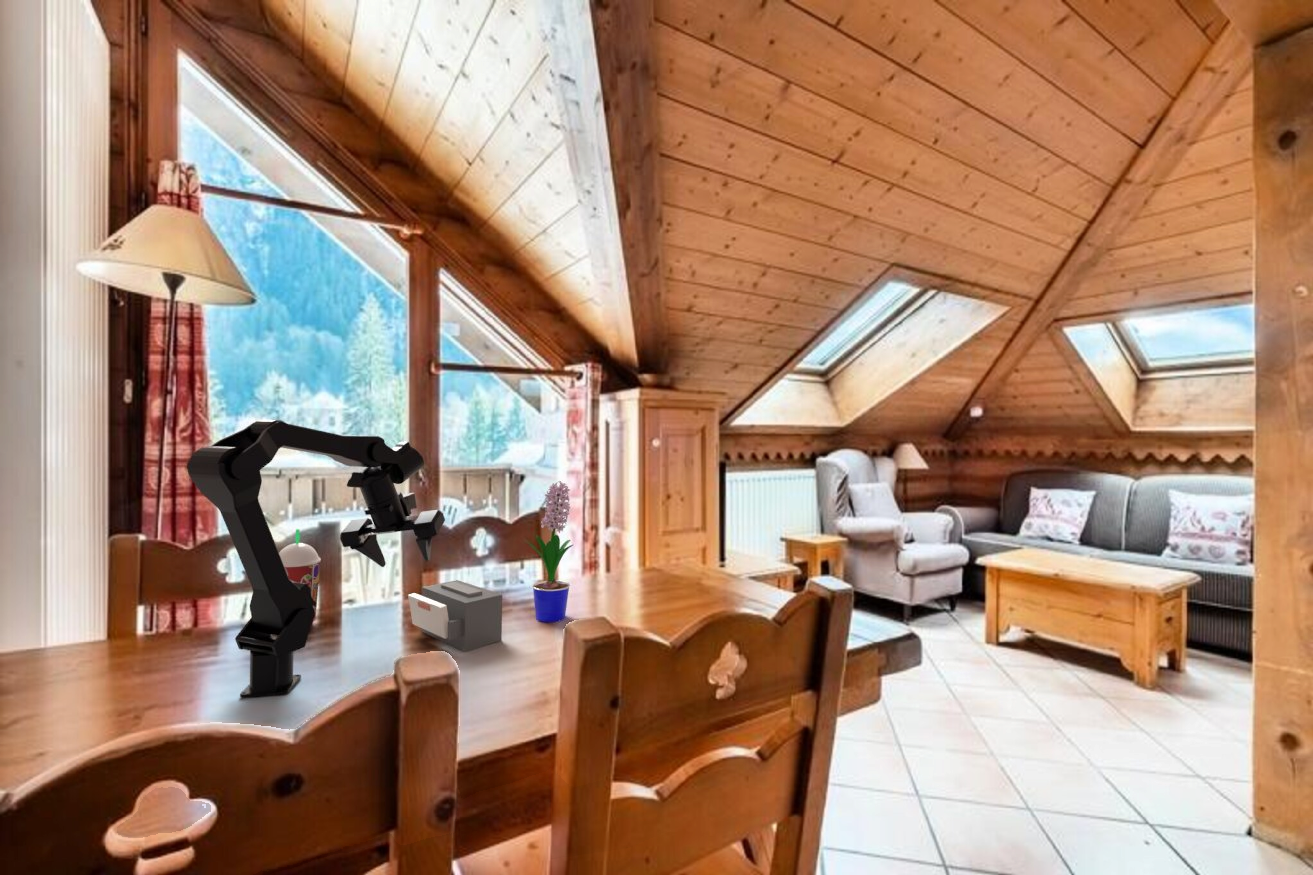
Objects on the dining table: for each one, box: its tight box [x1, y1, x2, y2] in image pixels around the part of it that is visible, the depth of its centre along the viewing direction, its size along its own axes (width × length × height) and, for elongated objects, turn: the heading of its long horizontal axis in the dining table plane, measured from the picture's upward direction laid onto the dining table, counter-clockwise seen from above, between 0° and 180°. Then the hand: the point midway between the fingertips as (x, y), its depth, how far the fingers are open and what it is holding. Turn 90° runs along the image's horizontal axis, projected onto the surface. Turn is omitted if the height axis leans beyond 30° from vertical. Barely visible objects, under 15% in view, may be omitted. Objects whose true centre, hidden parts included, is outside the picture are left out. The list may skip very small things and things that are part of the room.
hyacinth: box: [524, 480, 574, 623], centre depth 131 cm, size 9×10×30 cm
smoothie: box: [278, 529, 322, 628], centre depth 121 cm, size 8×8×20 cm
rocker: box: [407, 592, 449, 639], centre depth 113 cm, size 1×12×6 cm, turn 49°
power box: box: [420, 579, 503, 652], centre depth 118 cm, size 10×16×10 cm, turn 50°
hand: (406, 563), depth 120 cm, fingers open, 9 cm apart
